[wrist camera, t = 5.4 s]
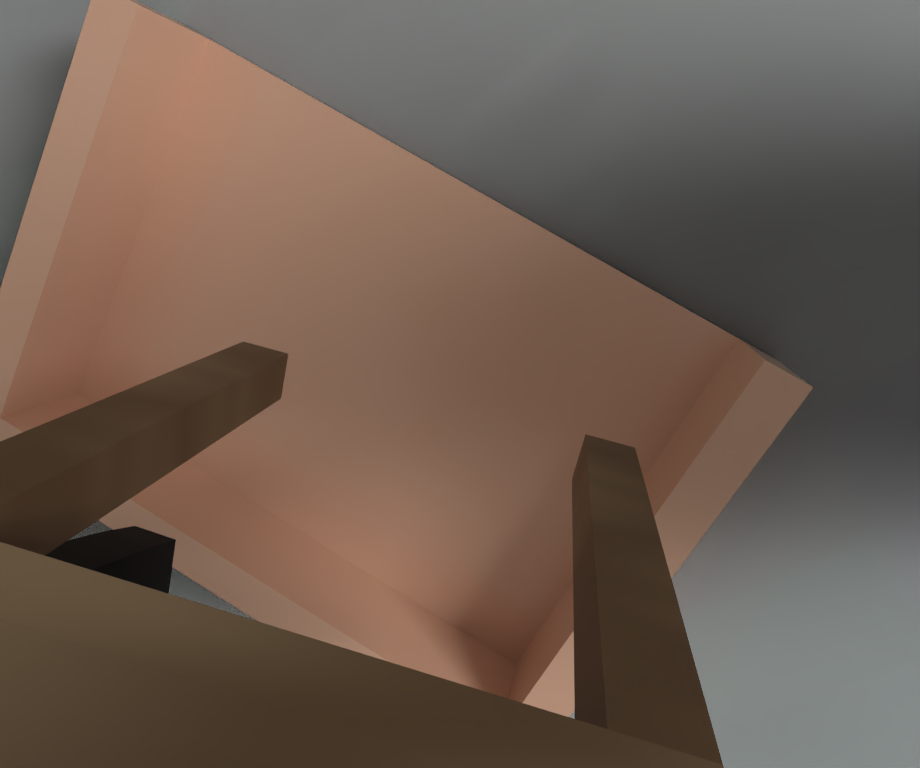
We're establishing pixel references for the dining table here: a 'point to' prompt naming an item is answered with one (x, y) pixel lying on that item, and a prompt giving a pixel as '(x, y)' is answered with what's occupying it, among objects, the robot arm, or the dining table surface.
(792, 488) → the dining table surface
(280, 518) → the tray
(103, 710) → the brown stool
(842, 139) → the dining table surface
